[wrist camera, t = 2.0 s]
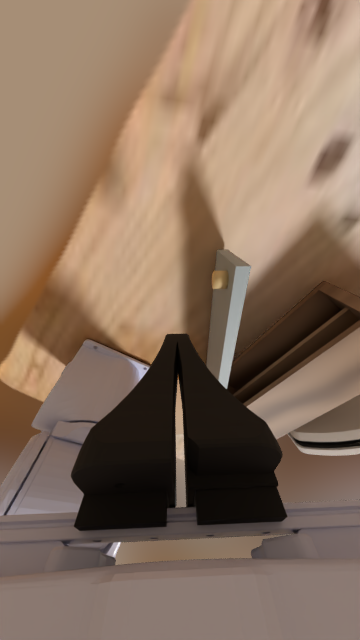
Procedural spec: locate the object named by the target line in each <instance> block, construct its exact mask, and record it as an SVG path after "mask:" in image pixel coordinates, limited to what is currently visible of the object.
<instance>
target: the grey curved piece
mask: <svg viewBox="0 0 360 640" xmlns="http://www.w3.org/2000/svg"><path fill="white" fill-rule="evenodd" d="M287 434H288V435H289V437H290V438H291V439H292V441H293V442H294V443H295V445H296V446H297V447H298V449H299V450H300V451H302V452H304V453H306V454H316V455H333V456H335V455H354V454H360V395H358V396H356V397H354V398H352V399H350V400H348V401H347V402H345V403H343V404H341V405H339V406H337V407H336V408H334V409H332V410H330V411H328V412H326V413H324V414H323V415H321V416H319V417H317V418H315V419H313V420H311V421H310V422H308V423H306V424H304V425H302V426H300V427H299V428H297V429H295V430H293V431H291V432H289V433H287Z"/></svg>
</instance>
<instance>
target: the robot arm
mask: <svg viewBox="0 0 360 640" xmlns="http://www.w3.org/2000/svg"><path fill="white" fill-rule="evenodd" d="M96 346H97V347H96ZM144 367H146V368H144ZM178 376H179V384H180V391H181V399H182V409H183V427H184V455H185V480H186V481H185V482H186V507H181V508H175V507H176V434H175V407H176V393H177V380H178ZM32 427H34V428H36V429H39V430H41V431H42V432H41V433H40V434H37V435H35V436H33V437H32V438H31V439H30V441H29V442H28V444H27V445H26V447H25V448H24V450H23V451H22V453H21V454H20V456H19V458H18V459H17V461H16V462H15V464H14V465H13V467H12V469H11V470H10V472H9V473H8V475H7V477H6V478H5V480H4V481H3V483H2V485H1V486H0V640H360V500H339V501H317V502H294V503H282V500H281V498H280V495H279V492H278V490H277V486H278V481H277V479H276V476H275V473H274V470H275V469H276V467H277V466H278V464H279V463H280V461H281V458H282V451H281V449H280V446H279V444H278V442H277V440H276V438H275V436H274V435H273V433H272V431H271V429H270V428H269V426H268V424H267V423H266V422H265V421H264V420H263V419H261V418H260V417H259V416H257V415H256V414H255V413H253V412H252V411H251V410H249V409H248V408H247V407H246V406H245V405H243V404H242V403H241V402H240V401H239V400H238V399H236V398H235V397H234V396H233V395H232V394H231V393H230V392H229V391H228V390H227V389H226V388H225V387H224V386H223V385H222V384H221V383H220V382H219V381H218V380H217V379H216V377H215V376H214V375H213V374H212V373H211V372H210V370H209V369H208V368H207V366H206V365H205V364H204V362H203V361H202V359H201V358H200V356H199V355H198V353H197V352H196V350H195V348H194V347H193V345H192V343H191V341H190V338H189V335H188V334H167V335H166V337H165V340H164V342H163V345H162V347H161V349H160V351H159V353H158V355H157V356H156V358H155V360H154V361H153V363H152V365H151V366H149V365H147V364H145V363H142V362H140V361H138V360H135V359H133V358H131V357H129V356H126V355H124V354H122V353H120V352H117V351H115V350H113V349H110V348H108V347H106V346H104V345H101V344H99V343H97V342H94V341H92V340H90V339H86V340H85V341H84V343H83V345H82V346H81V348H80V349H79V351H78V352H77V354H76V355H75V357H74V358H73V359H72V361H71V362H69V363H68V364H67V366H66V367H65V369H64V370H63V372H62V374H61V377H60V378H59V380H58V381H57V383H56V384H55V386H54V387H53V389H52V390H51V392H50V393H49V395H48V397H47V398H46V400H45V401H44V403H43V405H42V407H41V408H40V410H39V412H38V413H37V415H36V417H35V419H34V421H33V423H32ZM48 435H49V436H48ZM283 534H291V535H286V536H280V537H274V538H268V539H263V541H262V545H261V546H260V547H257V548H255V549H253V550H252V551H251V556H252V558H246V559H245V558H243V559H197V560H176V561H160V562H146V563H134V564H124V565H115V562H116V560H115V555H116V553H117V551H118V548H119V546H120V544H121V542H137V541H158V540H179V539H200V538H220V537H240V536H262V535H283Z"/></svg>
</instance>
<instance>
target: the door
mask: <svg viewBox="0 0 360 640" xmlns="http://www.w3.org/2000/svg"><path fill="white" fill-rule="evenodd" d="M250 269H251V266H250V265H249V264H247V263H246V262H244V261H243V260H242V259H240V258H239V257H237V256H236V255H234V254H233V253H232V252H230V251H229V250H217V254H216V265H215V271H213V273H212V288H213V297H212V308H211V319H210V330H209V340H208V351H207V362H206V366H207V368H208V369H209V370H210V372H211V373H212V374H213V375H214V376H215V377H216V379H217V380H218V381H219V382H220V383H221V384H222V385H223V386H224V387H225V388H226V389H227V386H228V381H229V376H230V371H231V366H232V360H233V355H234V350H235V345H236V340H237V335H238V330H239V325H240V320H241V315H242V310H243V305H244V300H245V295H246V290H247V285H248V279H249V274H250Z"/></svg>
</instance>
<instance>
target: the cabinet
mask: <svg viewBox="0 0 360 640" xmlns="http://www.w3.org/2000/svg"><path fill="white" fill-rule="evenodd" d="M227 390H228V391H229V392H230V393H231V394H232V395H233V396H234V397H235V398H236V399H238V400H239V401H240V402H241V403H242V404H243V405H245V406H246V407H247V408H248V409H249V410H251V411H252V412H253V413H255V414H256V415H257V416H259V417H260V418H261V419H263V420H264V421H265V422H266V423H267V424H268V426H269V428H270V429H271V431H272V433H273V435H274V436H275V438H276V439H278V438H280V437H282V436H284V435H286V434H287V433H289V432H291V431H293V430H295V429H297V428H299V427H300V426H302V425H304V424H306V423H308V422H310V421H311V420H313V419H315V418H317V417H319V416H321V415H323V414H324V413H326V412H328V411H330V410H332V409H334V408H336V407H337V406H339V405H341V404H343V403H345V402H347V401H348V400H350V399H352V398H354V397H356V396H358V395H360V297H358V296H356V295H354V294H351V293H349V292H347V291H345V290H343V289H341V288H338V287H336V286H334V285H332V284H330V283H327V282H325V281H323V282H322V283H321V284H320V285H319V286H317V287H316V288H315V289H314V290H313V291H312V292H311V293H310V294H308V295H307V296H306V297H305V298H304V299H303V300H302V301H301V302H299V303H298V304H297V305H296V306H295V307H294V308H293V309H292V310H290V311H289V312H288V313H287V314H286V315H285V316H284V317H283V318H281V319H280V320H279V321H278V322H277V323H276V324H275V325H274V326H272V327H271V328H270V329H269V330H268V331H267V332H266V333H265V334H263V335H262V336H261V337H260V338H259V339H258V340H257V341H256V342H254V343H253V344H252V345H251V346H250V347H249V348H248V349H247V350H246V351H244V352H243V353H242V354H241V355H240V356H239V357H238V358H237V359H235V360H234V361H233V362H232V366H231V371H230V376H229V381H228V386H227Z"/></svg>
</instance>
